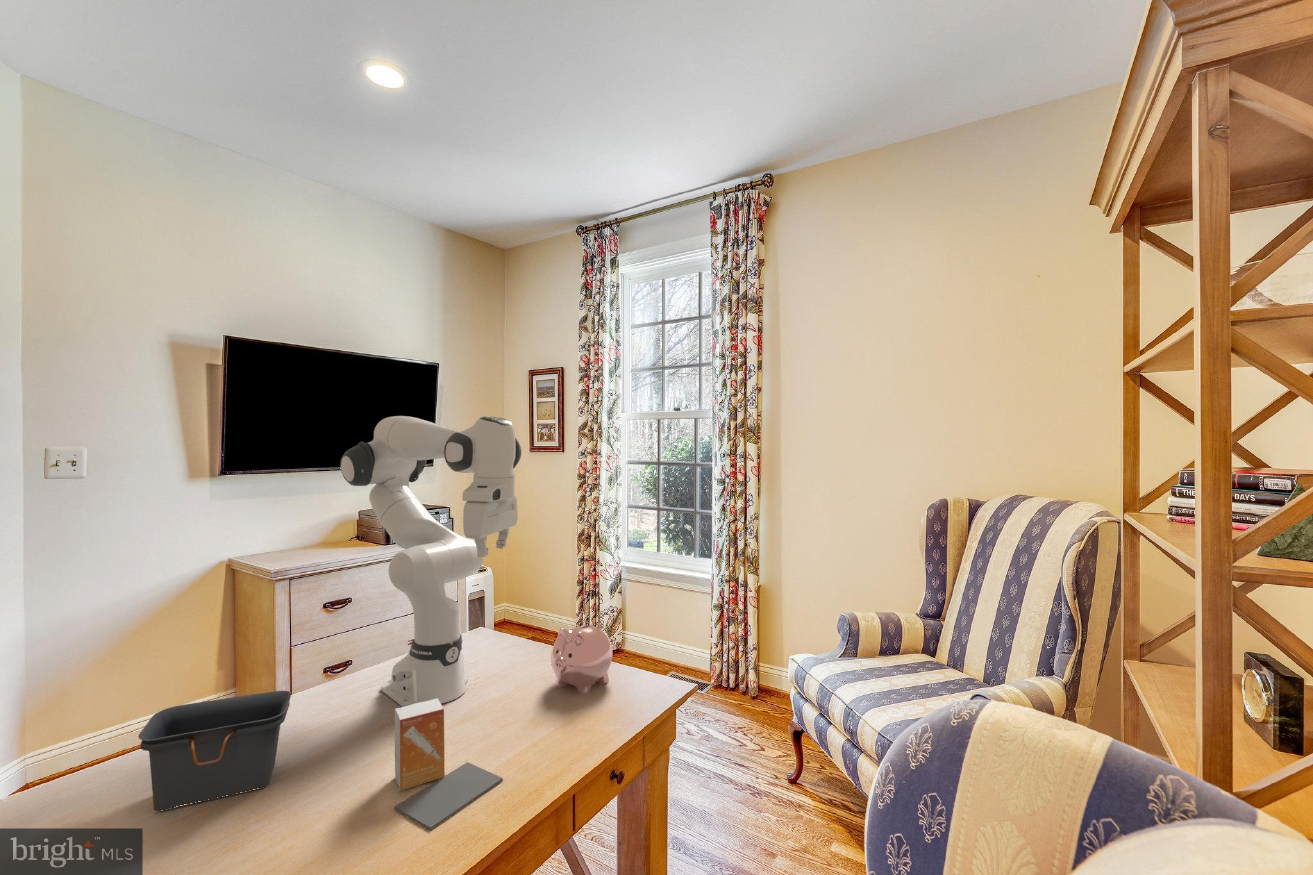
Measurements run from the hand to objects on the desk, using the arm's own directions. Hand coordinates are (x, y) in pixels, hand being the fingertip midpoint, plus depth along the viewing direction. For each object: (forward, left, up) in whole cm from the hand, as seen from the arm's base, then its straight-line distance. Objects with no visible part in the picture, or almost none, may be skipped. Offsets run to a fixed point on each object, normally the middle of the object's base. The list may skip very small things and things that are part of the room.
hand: (492, 552), depth 122 cm
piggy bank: (+1, +31, -41) cm, 52 cm away
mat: (+10, -18, -41) cm, 45 cm away
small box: (+1, -18, -41) cm, 44 cm away
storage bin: (-27, -40, -41) cm, 63 cm away
